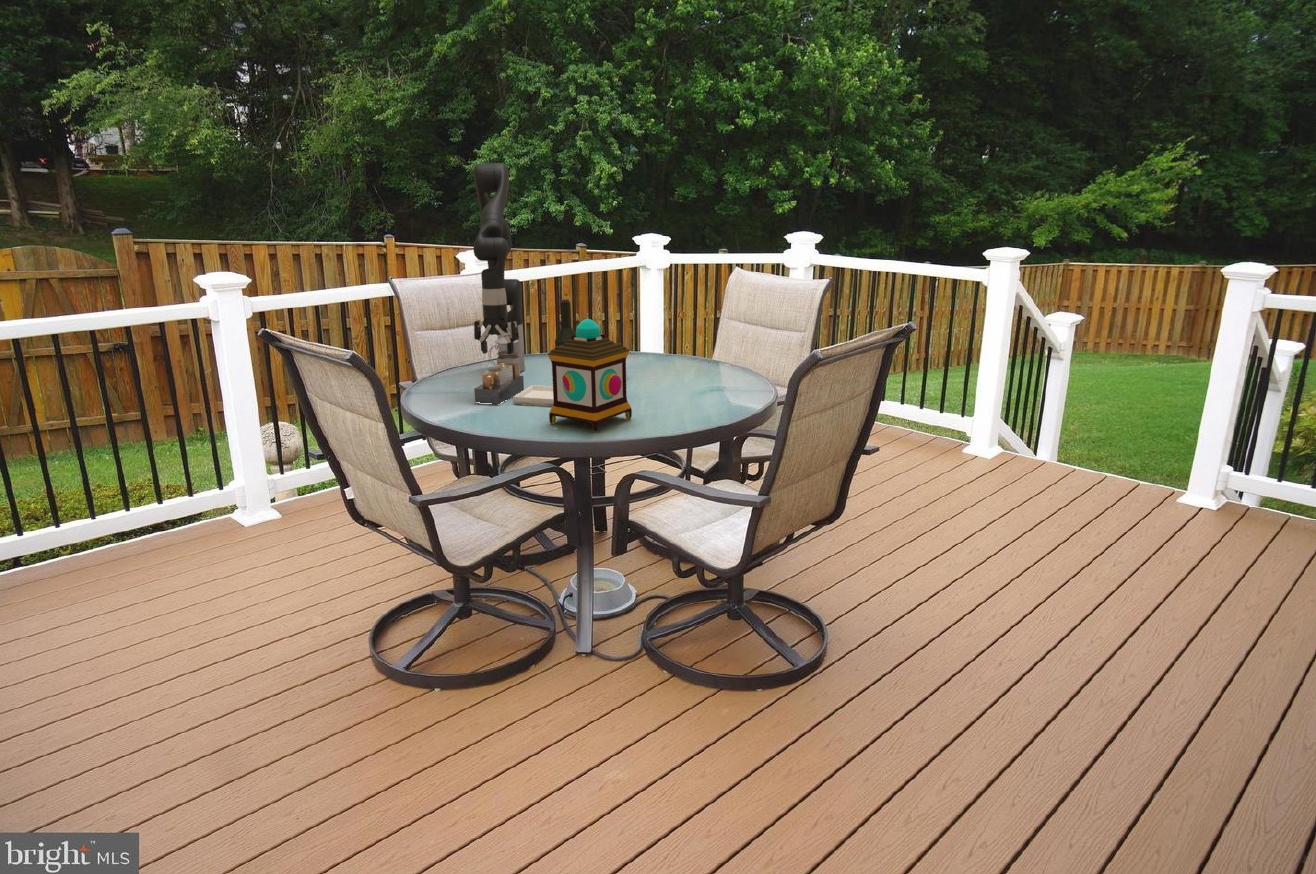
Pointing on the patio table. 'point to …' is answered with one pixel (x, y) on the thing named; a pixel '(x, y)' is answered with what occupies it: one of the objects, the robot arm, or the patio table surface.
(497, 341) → the french press
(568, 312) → the wine bottle
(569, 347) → the decorative lantern
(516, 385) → the plane body
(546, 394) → the tray
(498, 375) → the lever cap
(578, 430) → the patio table surface
